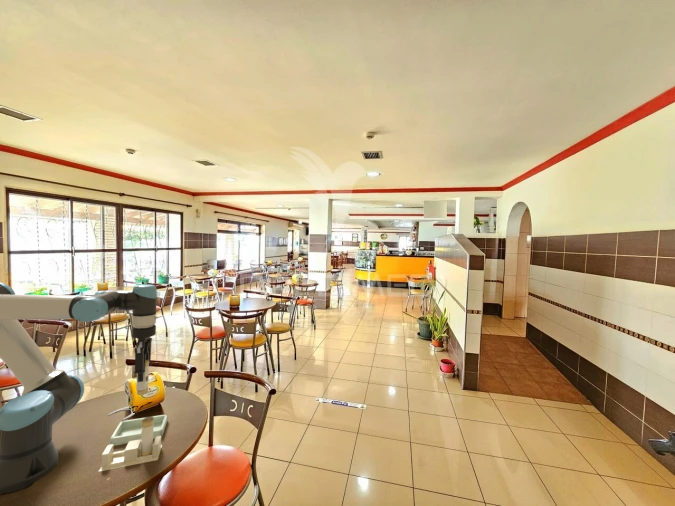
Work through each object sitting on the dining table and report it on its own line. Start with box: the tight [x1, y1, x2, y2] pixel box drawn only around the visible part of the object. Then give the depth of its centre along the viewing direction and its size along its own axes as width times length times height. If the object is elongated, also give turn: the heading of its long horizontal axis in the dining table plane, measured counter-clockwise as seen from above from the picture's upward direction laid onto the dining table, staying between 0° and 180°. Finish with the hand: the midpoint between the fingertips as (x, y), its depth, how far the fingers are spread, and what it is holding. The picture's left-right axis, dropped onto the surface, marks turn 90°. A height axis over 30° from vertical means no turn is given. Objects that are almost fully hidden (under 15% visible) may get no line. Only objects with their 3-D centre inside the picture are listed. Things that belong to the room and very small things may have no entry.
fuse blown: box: [136, 360, 150, 396], centre depth 108 cm, size 4×4×12 cm
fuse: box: [140, 416, 154, 457], centre depth 98 cm, size 4×4×12 cm
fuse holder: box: [98, 436, 163, 472], centre depth 96 cm, size 16×8×5 cm, turn 111°
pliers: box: [107, 406, 136, 421], centre depth 126 cm, size 10×2×15 cm
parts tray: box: [109, 413, 169, 447], centre depth 109 cm, size 16×11×4 cm
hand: (142, 386), depth 108 cm, fingers closed on fuse blown, 3 cm apart
